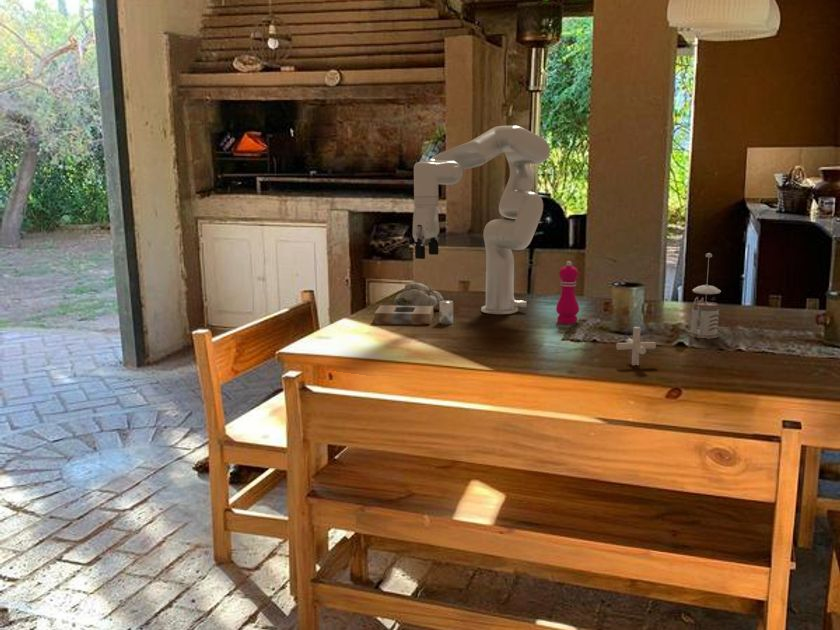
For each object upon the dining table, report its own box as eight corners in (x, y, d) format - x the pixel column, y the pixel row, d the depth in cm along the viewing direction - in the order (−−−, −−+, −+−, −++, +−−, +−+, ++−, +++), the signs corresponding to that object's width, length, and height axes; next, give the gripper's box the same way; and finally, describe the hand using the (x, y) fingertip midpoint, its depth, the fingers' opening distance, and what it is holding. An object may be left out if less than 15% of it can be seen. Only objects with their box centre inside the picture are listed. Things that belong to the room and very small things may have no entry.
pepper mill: (553, 323, 267) (555, 262, 263) (558, 319, 273) (560, 259, 269) (575, 325, 264) (578, 263, 260) (580, 320, 271) (582, 260, 267)
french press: (726, 335, 250) (732, 252, 245) (709, 341, 242) (715, 256, 237) (695, 330, 257) (700, 249, 252) (678, 336, 248) (683, 253, 243)
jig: (433, 316, 279) (433, 306, 278) (430, 324, 266) (430, 313, 266) (380, 315, 281) (380, 305, 280) (374, 323, 268) (374, 313, 267)
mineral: (439, 307, 282) (443, 279, 285) (390, 302, 286) (394, 275, 288) (444, 317, 294) (448, 291, 297) (396, 313, 297) (401, 287, 300)
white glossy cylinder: (453, 321, 271) (453, 300, 269) (452, 324, 266) (452, 303, 265) (440, 321, 271) (440, 300, 270) (438, 324, 267) (438, 303, 265)
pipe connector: (610, 360, 222) (612, 323, 220) (646, 359, 223) (648, 322, 221) (622, 370, 212) (624, 332, 210) (660, 369, 213) (662, 331, 211)
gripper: (427, 199, 267) (428, 252, 271) (402, 204, 252) (403, 259, 256) (448, 200, 264) (449, 253, 268) (425, 204, 249) (425, 261, 253)
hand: (427, 256), depth 262 cm, fingers open, 9 cm apart
